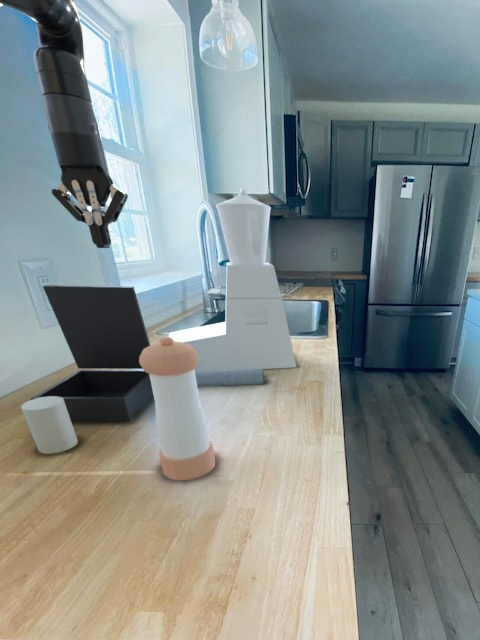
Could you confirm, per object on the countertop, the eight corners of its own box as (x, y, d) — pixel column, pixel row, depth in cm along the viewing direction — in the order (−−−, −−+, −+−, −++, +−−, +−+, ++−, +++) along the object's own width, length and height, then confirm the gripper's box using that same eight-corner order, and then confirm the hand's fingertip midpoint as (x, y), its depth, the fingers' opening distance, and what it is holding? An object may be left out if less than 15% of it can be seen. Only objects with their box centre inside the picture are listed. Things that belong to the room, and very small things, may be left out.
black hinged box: (131, 425, 65) (124, 398, 63) (40, 426, 64) (30, 398, 62) (161, 393, 79) (156, 369, 77) (87, 393, 78) (79, 369, 76)
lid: (132, 287, 66) (142, 278, 70) (42, 286, 65) (59, 277, 70) (155, 368, 76) (163, 356, 80) (78, 368, 75) (90, 356, 80)
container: (32, 458, 55) (11, 409, 52) (52, 441, 60) (35, 396, 56) (67, 457, 56) (50, 409, 52) (85, 441, 60) (70, 396, 56)
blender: (161, 377, 88) (121, 176, 69) (170, 356, 103) (140, 187, 85) (297, 370, 95) (294, 186, 76) (286, 351, 111) (281, 195, 92)
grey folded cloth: (160, 391, 80) (157, 376, 79) (166, 380, 86) (163, 366, 84) (264, 386, 84) (263, 372, 82) (263, 376, 90) (262, 363, 88)
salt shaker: (188, 488, 49) (161, 348, 40) (152, 473, 52) (119, 339, 43) (226, 463, 55) (209, 335, 46) (191, 451, 58) (169, 328, 49)
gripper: (125, 141, 66) (145, 248, 75) (50, 139, 66) (78, 247, 74) (105, 130, 60) (130, 249, 68) (21, 128, 59) (56, 247, 67)
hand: (103, 247), depth 71 cm, fingers closed
